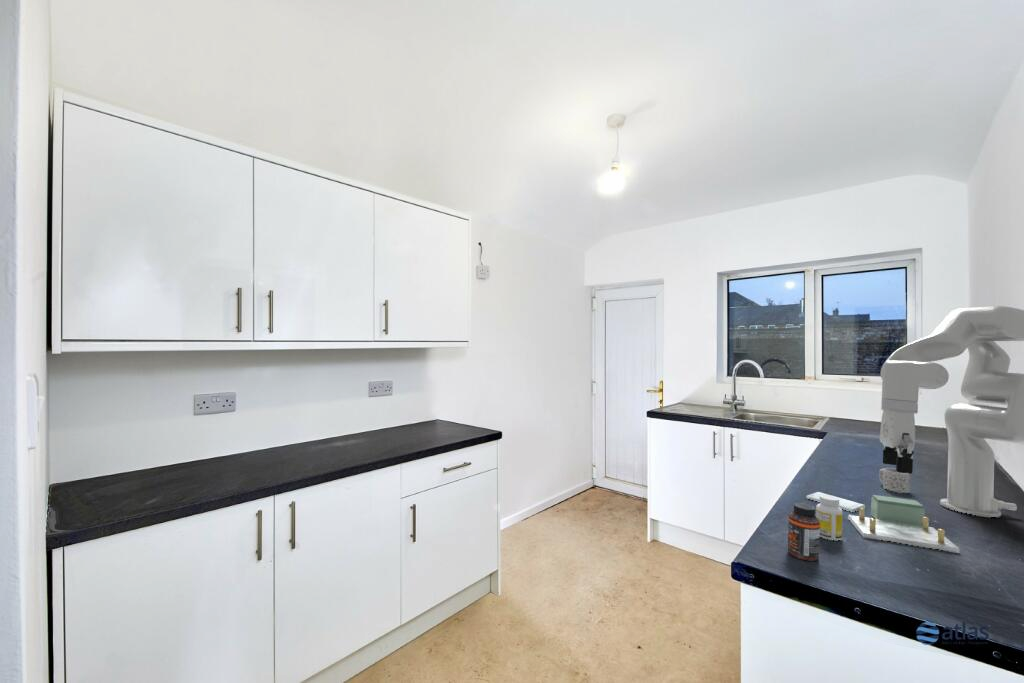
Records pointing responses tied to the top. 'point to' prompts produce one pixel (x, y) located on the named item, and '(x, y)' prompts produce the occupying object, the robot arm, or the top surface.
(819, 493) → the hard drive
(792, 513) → the supplement bottle
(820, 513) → the supplement bottle
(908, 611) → the top surface
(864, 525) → the plate
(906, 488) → the mug
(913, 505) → the block
